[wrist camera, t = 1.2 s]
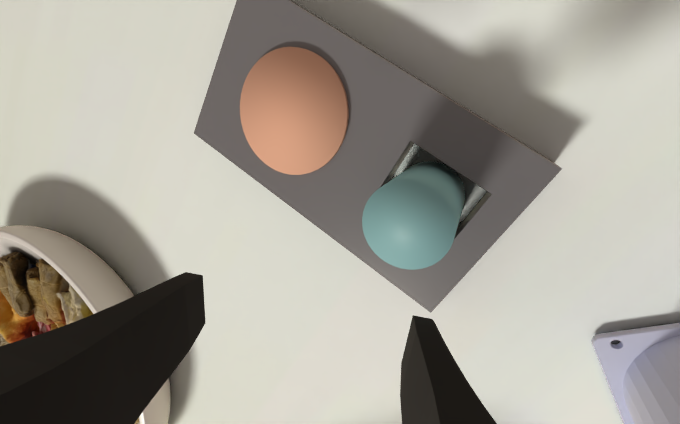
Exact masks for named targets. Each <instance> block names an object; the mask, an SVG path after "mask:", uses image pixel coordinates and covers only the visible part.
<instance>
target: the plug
mask: <svg viewBox="0 0 680 424" xmlns="http://www.w3.org/2000/svg"><path fill="white" fill-rule="evenodd" d="M464 202H465V190H464V186H463V183H462V181H461V179H460V177H459V176H458V175H457V174H456V173H455V171H453V170H452V169H451V168H449V167H448V166H446V165H444V164H441V163H438V162H421V163H418V164H415V165H413V166H411V167H410V168H408V169H407V170H405V171H404V172H402V173H401V174H399V175H398V176H396V177H395V178H394V179H392V180H391V181H389V182H388V183H386V184H385V185H383V186H382V187H380V188H379V189H377V190H376V191H375V192H374V193H373V194H372V195H371V197H370V198H369V200H368V201H367V203H366V205H365V208H364V211H363V216H362V227H363V232H364V236H365V238H366V241H367V243H368V245H369V246H370V248H371V249H372V250H373V252H374V253H375V254H376V255H377V256H378V257H379V258H381V259H382V260H383V261H385V262H387V263H388V264H390V265H392V266H395V267H398V268H402V269H409V270H416V269H423V268H426V267H429V266H431V265H433V264H435V263H437V262H438V261H440V260H441V259H442V258H443V257H444V256H445V255H446V254H447V253H448V251H449V249H450V248H451V246H452V243H453V241H454V237H455V234H456V230H457V227H458V223H459V220H460V216H461V213H462V209H463V206H464Z"/></svg>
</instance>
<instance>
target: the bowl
mask: <svg viewBox="0 0 680 424" xmlns="http://www.w3.org/2000/svg"><path fill="white" fill-rule="evenodd" d="M133 296H134V295H133V293H132V292H131V291H130V289H129V288H128V287H127V285H126V284H125V283H124V282H123V280H122V279H121V278H120V277H119V276H118V275H117V274H116V273H115V271H114V270H113V269H112V268H111V267H110V266H109V265H108V264H107V263H105V262H104V261H103V260H102V259H101V258H100V257H99V256H97V255H96V254H95V253H94V252H92V251H91V250H90V249H88V248H87V247H85V246H84V245H82V244H81V243H79V242H77V241H75V240H74V239H72V238H70V237H68V236H66V235H63V234H61V233H58V232H56V231H53V230H49V229H45V228H41V227H35V226H25V225H14V226H3V227H0V346H3V345H6V344H10V343H13V342H16V341H20V340H23V339H26V338H30V337H33V336H36V335H39V334H42V333H45V332H48V331H51V330H53V329H56V328H59V327H62V326H65V325H67V324H70V323H73V322H75V321H78V320H80V319H83V318H85V317H88V316H90V315H93V314H95V313H97V312H99V311H102V310H104V309H106V308H109V307H111V306H113V305H116V304H118V303H120V302H123V301H125V300H127V299H129V298H131V297H133ZM170 399H171V397H170V382H169V378H168V379H167V381H166V382H165V383H164V384H163V386H162V387H161V388H160V390H159V391H158V392H157V394H156V395H155V396H154V398H153V399H152V400H151V402H150V403H149V404H148V405H147V407H146V408H145V409H144V411H143V412H142V414H141V415H140V416H139V418H138V419H137V421H136V422H135V423H134V424H168V419H169V413H170Z"/></svg>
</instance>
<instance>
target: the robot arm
mask: <svg viewBox="0 0 680 424" xmlns="http://www.w3.org/2000/svg"><path fill="white" fill-rule="evenodd" d="M204 324H205V309H204V292H203V275H197V274H192V273H187V272H186V273H183V274H181V275H178V276H176V277H174V278H172V279H169V280H167V281H165V282H163V283H161V284H159V285H157V286H155V287H152V288H150V289H148V290H146V291H144V292H142V293H140V294H138V295H135V296H133V297H131V298H129V299H127V300H125V301H123V302H120V303H118V304H116V305H113V306H111V307H109V308H106V309H104V310H102V311H99V312H97V313H95V314H93V315H90V316H88V317H85V318H83V319H80V320H78V321H75V322H73V323H70V324H67V325H65V326H62V327H59V328H56V329H53V330H51V331H48V332H45V333H42V334H39V335H36V336H33V337H30V338H26V339H23V340H20V341H16V342H13V343H10V344H6V345H3V346H0V424H134V423H135V422H136V421H137V419H138V418H139V416H140V415H141V414H142V412H143V411H144V409H145V408H146V407H147V405H148V404H149V403H150V402H151V400H152V399H153V398H154V396H155V395H156V394H157V392H158V391H159V390H160V388H161V387H162V386H163V384H164V383H165V382H166V381H167V379H168V378H169V377H170V375H171V374H172V373H173V371H174V370H175V369H176V367H177V366H178V365H179V363H180V362H181V361H182V359H183V358H184V357H185V355H186V354H187V353H188V351H189V350H190V348H191V347H192V345H193V343H194V342H195V340H196V338H197V337H198V335H199V333H200V331H201V330H202V328H203V326H204ZM613 340H619V341H620V343H619V344H611V342H612V341H613ZM592 344H593V347H594V349H595V352H596V355H597V357H598V360H599V362H600V365H601V367H602V370H603V372H604V375H605V377H606V380H607V382H608V385H609V387H610V390H611V393H612V395H613V398H614V400H615V403H616V405H617V408H618V410H619V413H620V415H621V418H622V420H623V423H624V424H680V323H673V324H666V325H659V326H652V327H645V328H637V329H630V330H623V331H616V332H608V333H601V334H597V335H595V336H594V337H593V338H592ZM400 397H401V413H402V424H497V423H496V422H495V421H494V419H493V418H492V417H491V415H490V414H489V413H488V411H487V410H486V408H485V407H484V405H483V404H482V403H481V401H480V400H479V398H478V397H477V395H476V394H475V392H474V391H473V389H472V388H471V386H470V385H469V383H468V381H467V380H466V378H465V377H464V375H463V373H462V372H461V370H460V368H459V367H458V365H457V363H456V362H455V360H454V358H453V356H452V355H451V353H450V351H449V349H448V347H447V346H446V344H445V342H444V340H443V338H442V336H441V334H440V332H439V330H438V328H437V326H436V324H435V322H434V321H433V320H432V319H429V318H423V317H418V316H413V318H412V322H411V326H410V330H409V334H408V338H407V343H406V347H405V351H404V355H403V359H402V365H401V390H400Z"/></svg>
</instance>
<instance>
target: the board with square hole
mask: <svg viewBox="0 0 680 424" xmlns="http://www.w3.org/2000/svg"><path fill="white" fill-rule="evenodd" d="M282 47H299V48H303V49H307V50H309V51H312V52H314V53H316V54H318V55H319V56H321V57H322V58H323V59H325V60H326V61H327V62H328V63H329V64H330V65H331V66H332V67H333V68H334V70H335V71H336V73H337V74H338V76H339V78H340V79H341V81H342V83H343V86H344V89H345V92H346V96H347V100H348V108H349V120H348V127H347V131H346V135H345V138H344V141H343V143H342V145H341V147H340V149H339V151H338V152H337V153H336V155H335V156H334V157H333V158H332V159H331V160H330V161H329V162H328V163H327V164H326V165H325V166H323V167H321V168H320V169H318V170H316V171H313V172H310V173H307V174H302V175H289V174H285V173H281V172H279V171H276V170H274V169H272V168H270V167H269V166H268V165H266V164H265V163H264V162H263V161H262V160H260V159H259V157H258V156H257V155H256V154H255V153H254V151H253V150H252V148H251V147H250V145H249V143H248V141H247V139H246V137H245V134H244V131H243V128H242V124H241V118H240V98H241V92H242V88H243V85H244V82H245V79H246V77H247V75H248V73H249V72H250V70H251V69H252V67H253V66H254V65H255V64H256V62H257V61H258V60H259V59H260V58H262V57H263V56H264V55H266V54H267V53H269V52H271V51H273V50H275V49H279V48H282ZM194 134H196V135H197V136H198V137H200V138H201V139H202V140H204V141H205V142H206V143H207V144H209V145H210V146H211V147H213V148H214V149H215V150H217V151H218V152H219V153H221V154H222V155H223V156H225V157H226V158H227V159H229V160H230V161H231V162H233V163H234V164H235V165H237V166H238V167H239V168H241V169H242V170H243V171H244V172H246V173H247V174H248V175H250V176H251V177H252V178H254V179H255V180H256V181H258V182H259V183H260V184H262V185H263V186H264V187H266V188H267V189H268V190H270V191H271V192H272V193H274V194H275V195H276V196H278V197H279V198H280V199H281V200H283V201H284V202H285V203H287V204H288V205H289V206H291V207H292V208H293V209H295V210H296V211H297V212H299V213H300V214H301V215H303V216H304V217H305V218H307V219H308V220H309V221H311V222H312V223H313V224H314V225H316V226H317V227H318V228H320V229H321V230H322V231H324V232H325V233H326V234H328V235H329V236H330V237H332V238H333V239H334V240H336V241H337V242H338V243H340V244H341V245H342V246H344V247H345V248H346V249H348V250H349V251H350V252H351V253H353V254H354V255H355V256H357V257H358V258H359V259H361V260H362V261H363V262H365V263H366V264H367V265H369V266H370V267H371V268H373V269H374V270H375V271H377V272H378V273H379V274H381V275H382V276H383V277H385V278H386V279H387V280H388V281H390V282H391V283H392V284H394V285H395V286H396V287H398V288H399V289H400V290H402V291H403V292H404V293H406V294H407V295H408V296H410V297H411V298H412V299H414V300H415V301H416V302H418V303H419V304H420V305H421V306H423V307H424V308H425V309H427V310H428V311H429V312H432V311H433V310H434V309H435V307H436V306H437V305H438V304H439V303H440V302H441V301H442V300H443V299H444V298H445V297H446V295H447V294H448V293H449V292H450V291H451V290H452V289H453V288H454V287H455V286H456V284H457V283H458V282H459V281H460V280H461V279H462V278H463V277H464V276H465V275H466V273H467V272H468V271H469V270H470V269H471V268H472V267H473V266H474V265H475V264H476V263H477V261H478V260H479V259H480V258H481V257H482V256H483V255H484V254H485V253H486V252H487V250H488V249H489V248H490V247H491V246H492V245H493V244H494V243H495V242H496V241H497V239H498V238H499V237H500V236H501V235H502V234H503V233H504V232H505V231H506V230H507V228H508V227H509V226H510V225H511V224H512V223H513V222H514V221H515V220H516V219H517V218H518V216H519V215H520V214H521V213H522V212H523V211H524V210H525V209H526V208H527V207H528V205H529V204H530V203H531V202H532V201H533V200H534V199H535V198H536V197H537V196H538V194H539V193H540V192H541V191H542V190H543V189H544V188H545V187H546V186H547V185H548V183H549V182H550V181H551V180H552V179H553V178H554V177H555V176H556V175H557V174H558V173H559V171H560V170H561V169H562V168H560V167H559V166H558V165H557V164H555V163H554V162H552V161H551V160H549V159H547V158H546V157H544V156H543V155H541V154H539V153H538V152H536V151H534V150H533V149H531V148H530V147H528V146H526V145H525V144H523V143H521V142H520V141H518V140H517V139H515V138H513V137H512V136H510V135H508V134H507V133H505V132H504V131H502V130H500V129H499V128H497V127H495V126H494V125H492V124H491V123H489V122H487V121H486V120H484V119H482V118H481V117H479V116H478V115H476V114H474V113H473V112H471V111H469V110H468V109H466V108H465V107H463V106H461V105H460V104H458V103H456V102H455V101H453V100H452V99H450V98H448V97H447V96H445V95H443V94H442V93H440V92H439V91H437V90H435V89H434V88H432V87H430V86H429V85H427V84H426V83H424V82H422V81H421V80H419V79H417V78H416V77H414V76H413V75H411V74H409V73H408V72H406V71H404V70H403V69H401V68H400V67H398V66H396V65H395V64H393V63H391V62H390V61H388V60H387V59H385V58H383V57H382V56H380V55H378V54H377V53H375V52H374V51H372V50H370V49H369V48H367V47H365V46H364V45H362V44H361V43H359V42H357V41H356V40H354V39H352V38H351V37H349V36H348V35H346V34H344V33H343V32H341V31H339V30H338V29H336V28H335V27H333V26H331V25H330V24H328V23H326V22H325V21H323V20H322V19H320V18H318V17H317V16H315V15H313V14H312V13H310V12H309V11H307V10H305V9H304V8H302V7H300V6H299V5H297V4H296V3H294V2H292V1H291V0H237V2H236V5H235V8H234V11H233V14H232V17H231V20H230V23H229V26H228V29H227V32H226V35H225V39H224V42H223V45H222V48H221V51H220V54H219V57H218V60H217V63H216V66H215V69H214V72H213V76H212V79H211V82H210V85H209V88H208V91H207V94H206V97H205V100H204V103H203V106H202V109H201V113H200V116H199V119H198V122H197V125H196V128H195V131H194ZM414 143H415V144H416V145H418V146H419V147H421V148H422V149H424V150H425V151H427V152H428V153H430V154H431V155H433V156H434V157H436V158H437V159H439V160H441V161H442V162H444V163H445V164H447V165H448V166H450V167H451V168H453V169H454V170H456V171H457V172H459V173H460V174H462V175H463V176H465V177H466V178H468V179H469V180H471V181H472V182H474V183H475V184H477V185H479V186H480V187H482V188H483V189H485V190H486V191H488V192H487V193H486V194H485V195H484V197H483V198H482V199H481V200H480V201H479V203H478V204H477V205H476V206H475V207H474V209H473V210H472V211H471V212H470V213H469V215H468V216H467V217H466V218H465V220H464V221H463V222H462V223H461V224H460V226H459V227H458V228H457V230H456V234H455V237H454V241H453V243H452V246H451V248H450V249H449V251H448V253H447V254H446V255H445V256H444V257H443V258H442V259H441V260H440V261H438V262H437V263H435V264H433V265H431V266H429V267H426V268H423V269H416V270H409V269H402V268H398V267H395V266H392V265H390V264H388V263H387V262H385V261H383V260H382V259H381V258H379V257H378V256H377V255H376V254H375V253H374V252H373V250H372V249H371V248H370V246H369V245H368V243H367V241H366V238H365V236H364V232H363V227H362V216H363V211H364V208H365V205H366V203H367V201H368V200H369V198H370V197H371V195H372V194H373V193H374V192H375V191H376V190H377V189H379V188H380V187H382V186H383V185H385V184H386V183H388V182H389V181H390V179H391V178H392V176H393V175H394V173H395V172H396V170H397V169H398V167H399V166H400V164H401V163H402V161H403V160H404V158H405V157H406V155H407V154H408V152H409V150H410V149H411V147H412V146H413V144H414Z"/></svg>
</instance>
